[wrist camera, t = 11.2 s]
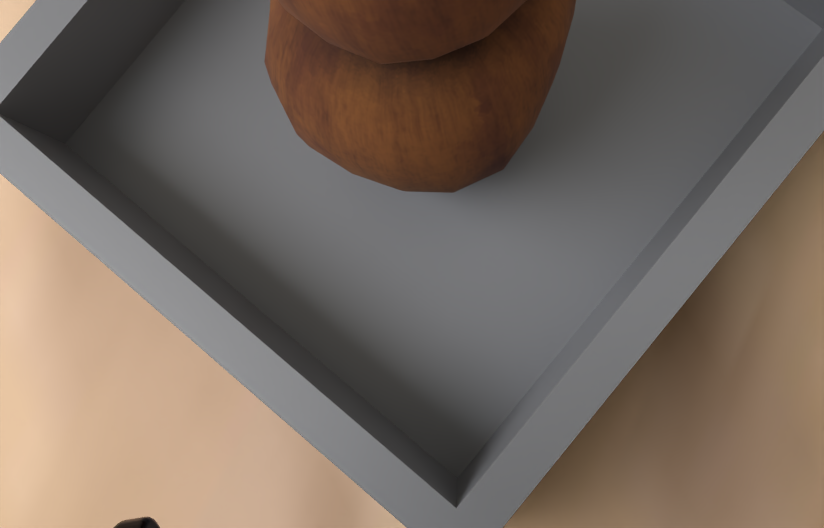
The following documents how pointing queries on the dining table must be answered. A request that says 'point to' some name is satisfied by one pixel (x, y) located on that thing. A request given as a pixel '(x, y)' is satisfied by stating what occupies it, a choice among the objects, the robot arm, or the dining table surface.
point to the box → (414, 223)
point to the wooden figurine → (416, 82)
